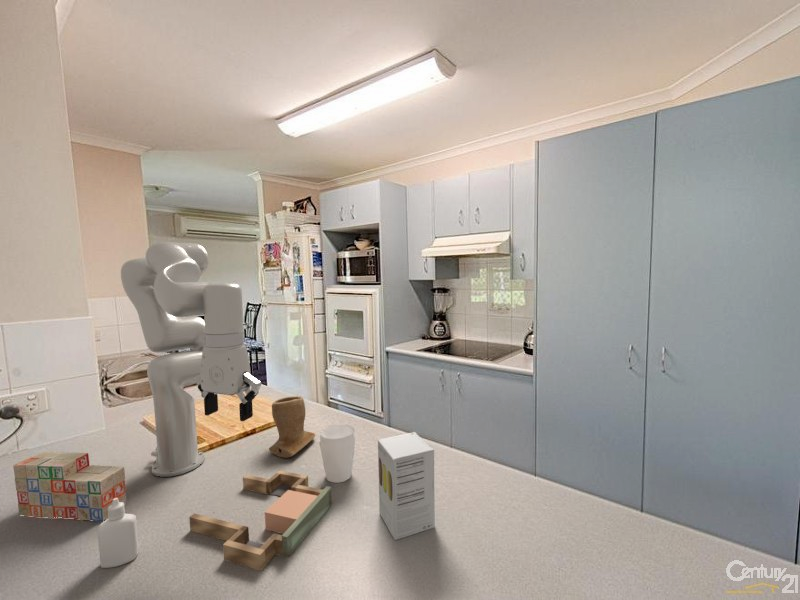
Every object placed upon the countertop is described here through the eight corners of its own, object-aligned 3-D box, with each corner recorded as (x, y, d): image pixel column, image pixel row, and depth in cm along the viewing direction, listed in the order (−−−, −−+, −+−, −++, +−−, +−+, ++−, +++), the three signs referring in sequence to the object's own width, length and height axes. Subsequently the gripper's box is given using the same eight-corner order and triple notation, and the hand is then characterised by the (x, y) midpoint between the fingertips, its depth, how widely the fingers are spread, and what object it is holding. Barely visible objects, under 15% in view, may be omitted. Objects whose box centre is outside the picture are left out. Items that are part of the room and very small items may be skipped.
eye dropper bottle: (117, 550, 70) (112, 491, 69) (143, 551, 69) (138, 492, 69) (96, 568, 66) (90, 505, 65) (124, 570, 65) (118, 507, 64)
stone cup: (288, 434, 120) (286, 390, 119) (320, 438, 116) (318, 392, 115) (257, 456, 105) (255, 406, 104) (293, 462, 102) (290, 410, 101)
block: (265, 530, 75) (264, 512, 75) (288, 506, 83) (288, 489, 82) (298, 538, 73) (297, 519, 72) (319, 513, 80) (318, 496, 80)
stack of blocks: (128, 504, 84) (123, 453, 84) (103, 523, 78) (98, 468, 77) (48, 499, 87) (43, 450, 86) (17, 517, 81) (12, 464, 80)
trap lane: (172, 544, 71) (171, 525, 71) (258, 477, 94) (257, 462, 94) (274, 574, 64) (273, 553, 63) (340, 493, 87) (339, 477, 86)
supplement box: (378, 512, 79) (376, 438, 78) (416, 501, 83) (414, 430, 82) (394, 542, 71) (392, 459, 69) (436, 527, 74) (435, 448, 73)
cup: (349, 487, 89) (347, 440, 88) (315, 484, 91) (313, 437, 90) (360, 468, 98) (359, 425, 97) (329, 465, 100) (327, 423, 99)
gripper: (179, 340, 78) (184, 417, 79) (244, 346, 72) (248, 428, 74) (208, 334, 85) (212, 405, 86) (269, 339, 79) (272, 414, 81)
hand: (228, 415), depth 80 cm, fingers open, 9 cm apart
